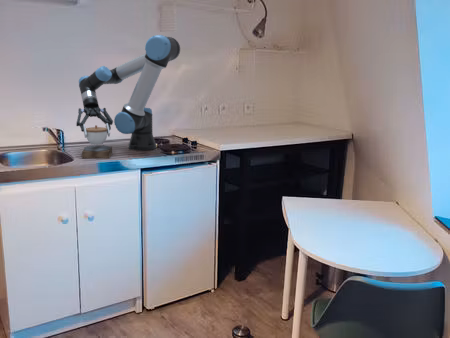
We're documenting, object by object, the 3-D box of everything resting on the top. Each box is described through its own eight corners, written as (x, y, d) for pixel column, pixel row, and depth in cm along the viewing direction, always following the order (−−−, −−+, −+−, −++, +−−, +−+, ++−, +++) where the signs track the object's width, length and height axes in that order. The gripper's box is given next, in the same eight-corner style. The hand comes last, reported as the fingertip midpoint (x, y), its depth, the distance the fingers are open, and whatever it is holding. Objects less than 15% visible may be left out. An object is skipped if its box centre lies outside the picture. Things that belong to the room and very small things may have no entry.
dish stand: (112, 153, 221) (112, 145, 219) (109, 158, 208) (108, 149, 207) (87, 153, 219) (86, 145, 218) (82, 158, 206) (81, 150, 205)
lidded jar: (104, 145, 207) (103, 127, 204) (82, 145, 207) (81, 126, 205) (110, 142, 217) (109, 124, 215) (90, 141, 217) (89, 123, 215)
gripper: (111, 105, 226) (119, 138, 217) (66, 106, 216) (73, 141, 206) (113, 96, 220) (121, 129, 211) (67, 97, 210) (74, 132, 200)
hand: (97, 135), depth 208 cm, fingers closed on lidded jar, 11 cm apart
